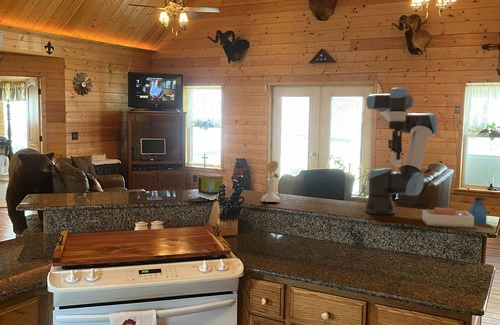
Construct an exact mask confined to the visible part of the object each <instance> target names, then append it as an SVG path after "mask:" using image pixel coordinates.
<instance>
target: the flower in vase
mask: <svg viewBox="0 0 500 325" xmlns="http://www.w3.org/2000/svg"><path fill="white" fill-rule="evenodd" d="M278 167H279V163H278V162H277V161H276V160H271V161H268V163H267V165H266V166H265V170H266V172H267V175H268V176H269V177H271V178H267V179H266V181H267V182H268V190H267V193H266V194H264V195H263V196H262V197H261V198H260V200H261V202H263V201H265V202H264V203H266V202H276V203H279V202H280V201H281V198H280V197H279V196H278V195H277V194H276V193H275V192H274V189H273V187H274V182H275V181H276V178H279V175H278V173H275V172H276V171H277V170H278ZM272 173H273V175H271V174H272ZM273 177H274V178H273ZM278 201H279V202H278Z"/></svg>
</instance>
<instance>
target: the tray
mask: <svg viewBox="0 0 500 325" xmlns="http://www.w3.org/2000/svg"><path fill="white" fill-rule="evenodd" d="M460 213H461V214H464V215H465V216H457V215H458V214H460ZM422 221H423V222H424V224H425V225H426V226H432V227H454V228H474V224H475V223H474V216H472V215H471V214H470V213H469V211H467V210H466V211H464V210H463V211H462V210H456V215H434V209H422Z"/></svg>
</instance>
